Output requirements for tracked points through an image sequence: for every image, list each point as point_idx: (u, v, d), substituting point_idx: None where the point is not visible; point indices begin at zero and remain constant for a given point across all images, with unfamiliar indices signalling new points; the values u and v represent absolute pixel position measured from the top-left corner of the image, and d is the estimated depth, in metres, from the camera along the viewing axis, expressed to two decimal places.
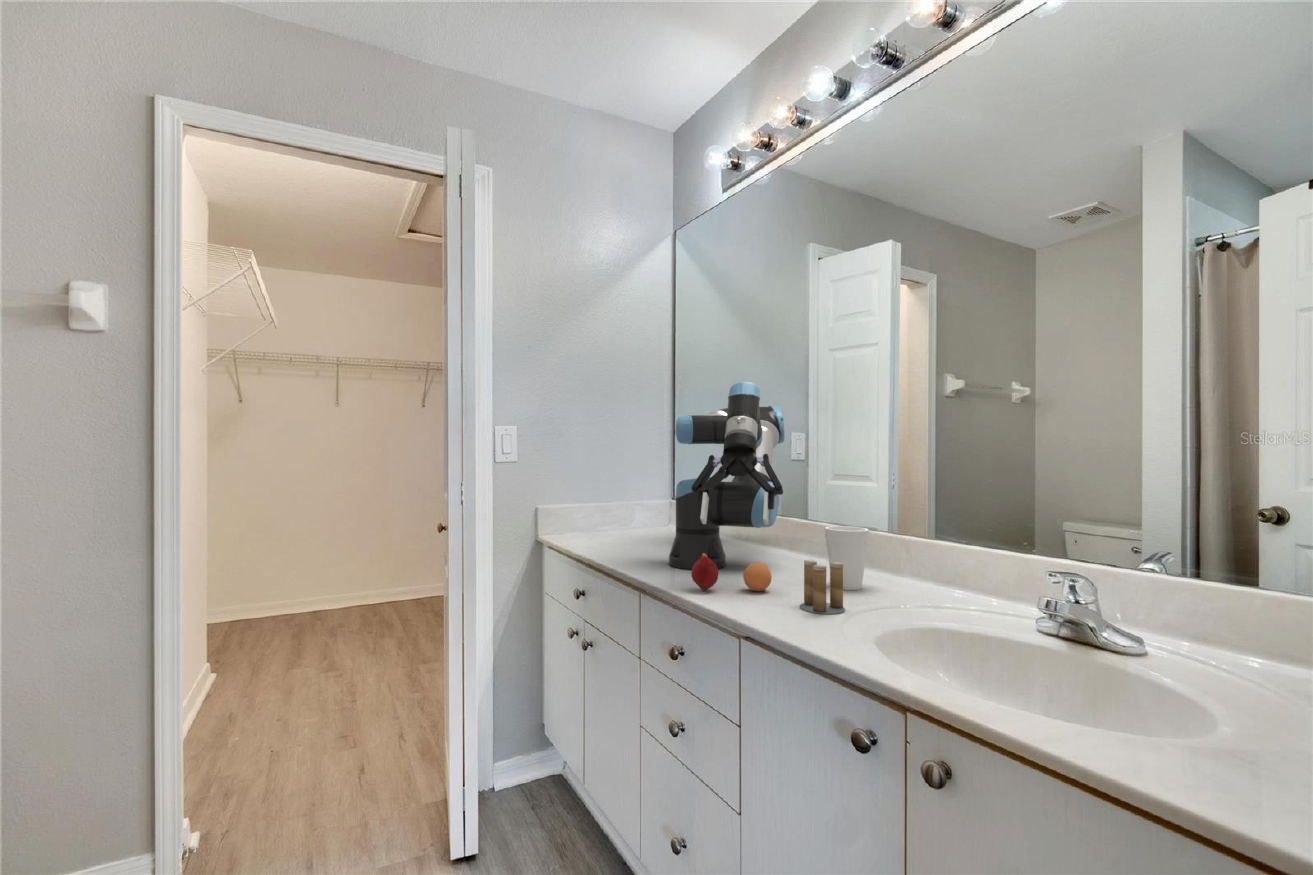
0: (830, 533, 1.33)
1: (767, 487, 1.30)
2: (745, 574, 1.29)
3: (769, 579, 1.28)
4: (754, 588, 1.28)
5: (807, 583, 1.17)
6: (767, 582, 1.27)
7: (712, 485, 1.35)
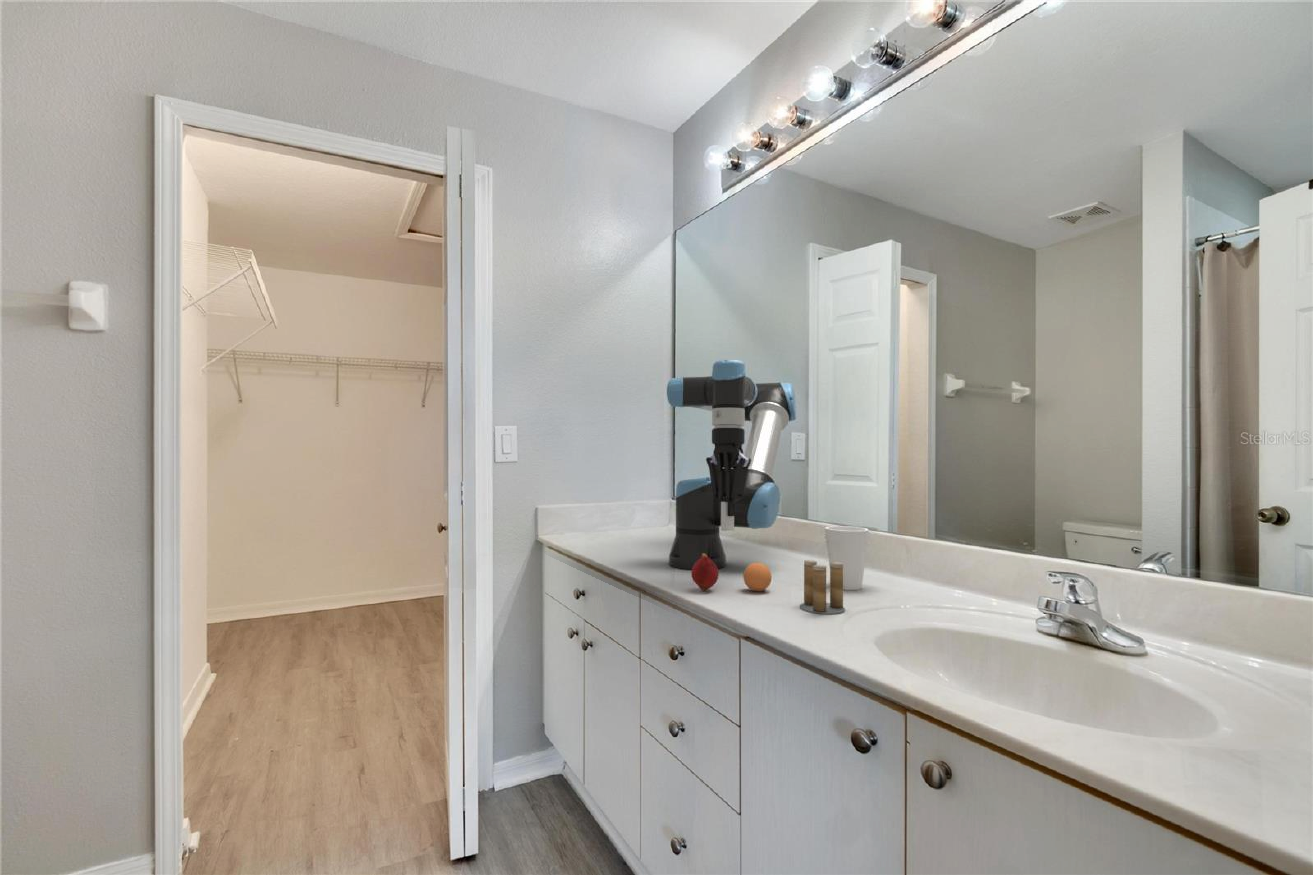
0: (830, 533, 1.33)
1: (726, 495, 1.36)
2: (745, 574, 1.29)
3: (769, 579, 1.28)
4: (754, 588, 1.28)
5: (807, 583, 1.17)
6: (767, 582, 1.27)
7: (725, 486, 1.38)
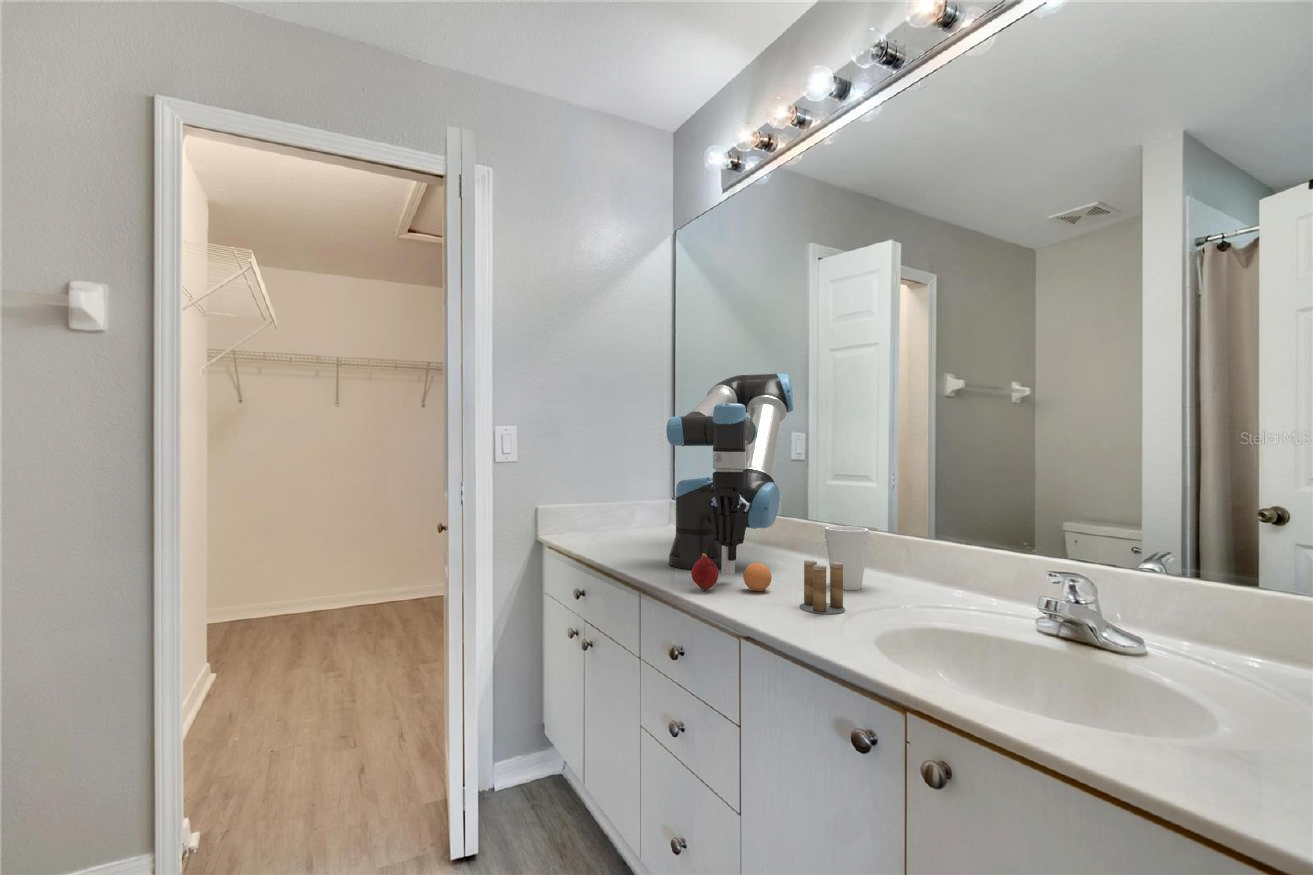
0: (830, 533, 1.33)
1: (727, 539, 1.35)
2: (745, 574, 1.29)
3: (769, 579, 1.28)
4: (754, 588, 1.28)
5: (807, 583, 1.17)
6: (767, 582, 1.27)
7: (725, 530, 1.37)
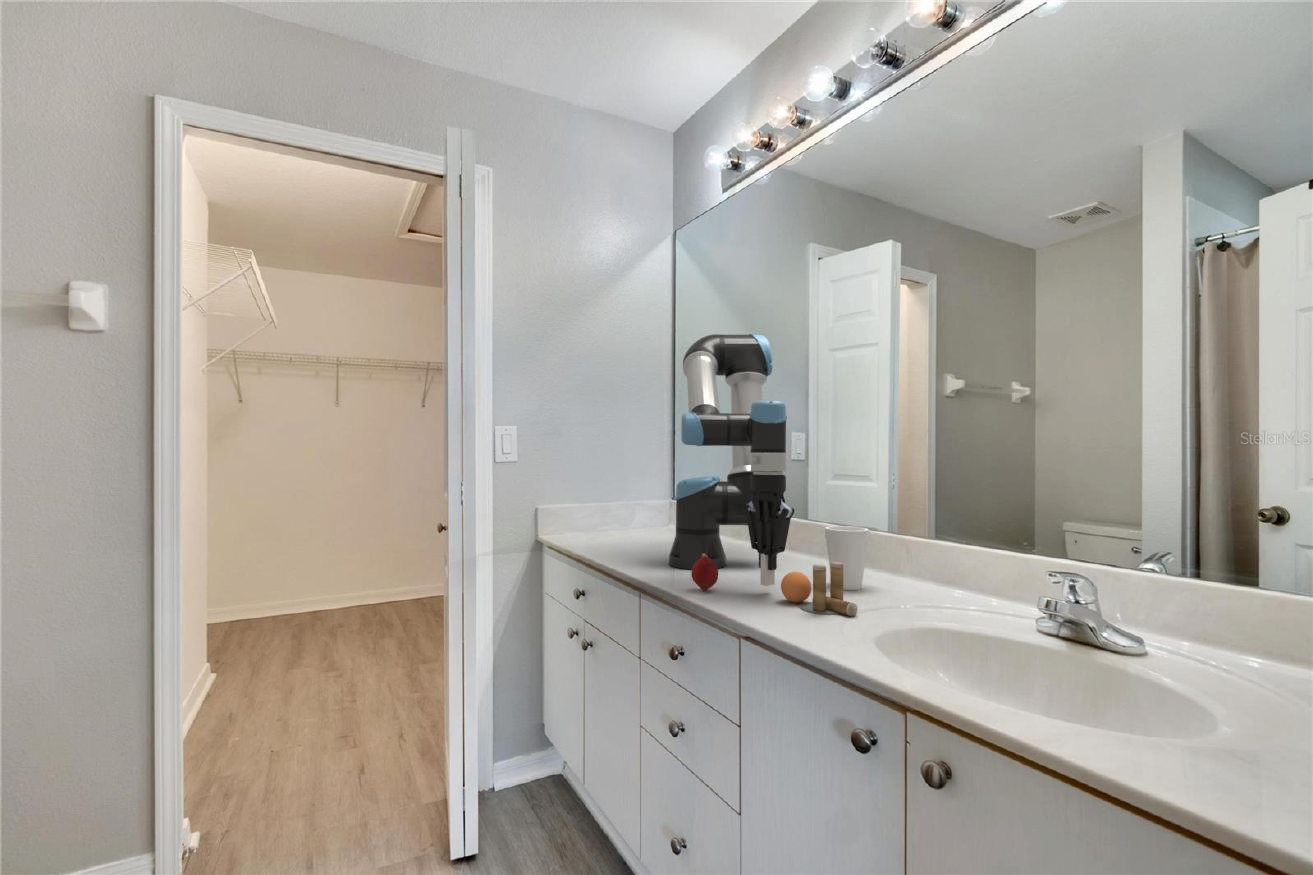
0: (830, 533, 1.33)
1: (767, 547, 1.26)
2: (788, 595, 1.18)
3: None
4: (788, 577, 1.19)
5: (830, 606, 1.12)
6: None
7: (764, 537, 1.28)
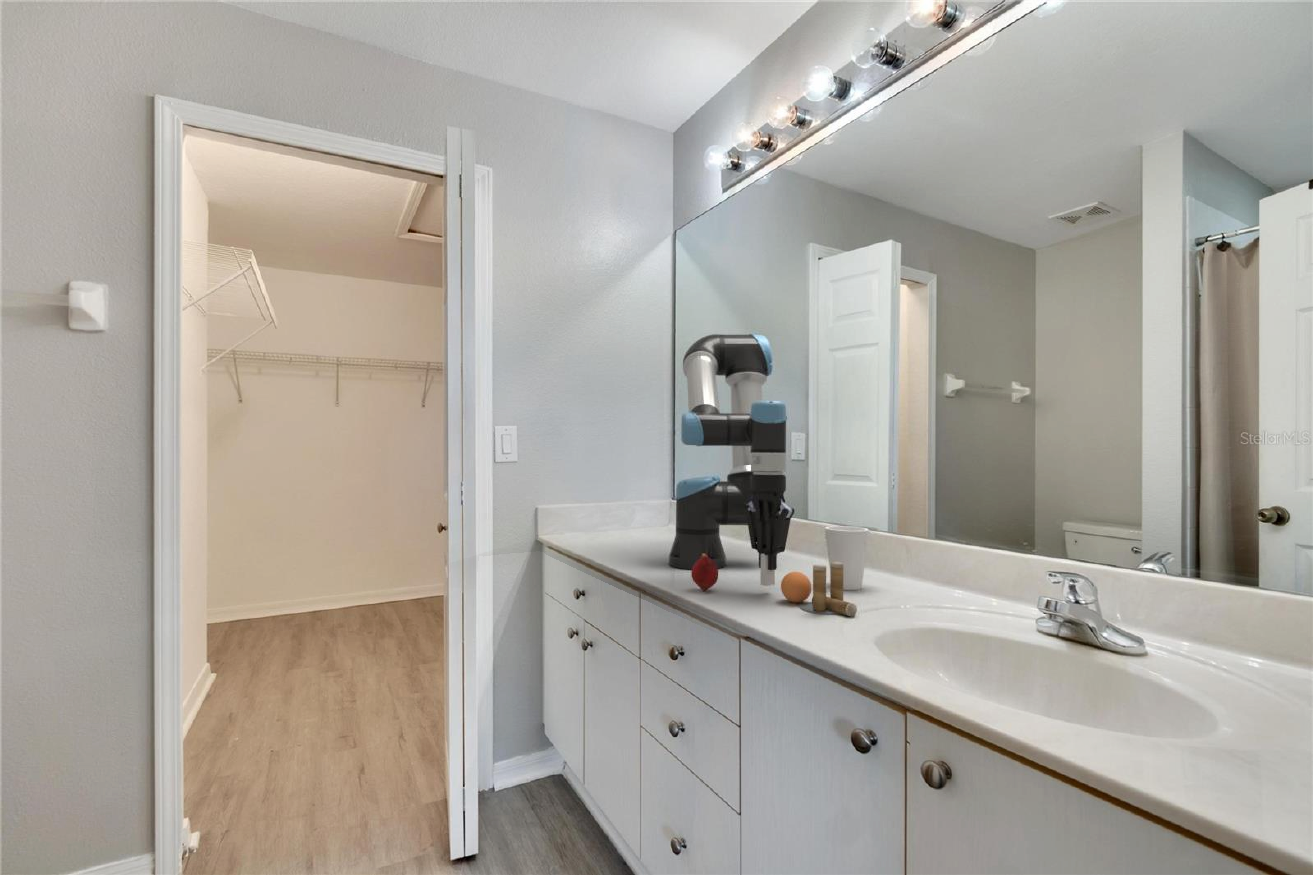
0: (830, 533, 1.33)
1: (767, 547, 1.26)
2: (788, 595, 1.18)
3: None
4: (788, 577, 1.19)
5: (829, 607, 1.12)
6: None
7: (764, 537, 1.28)
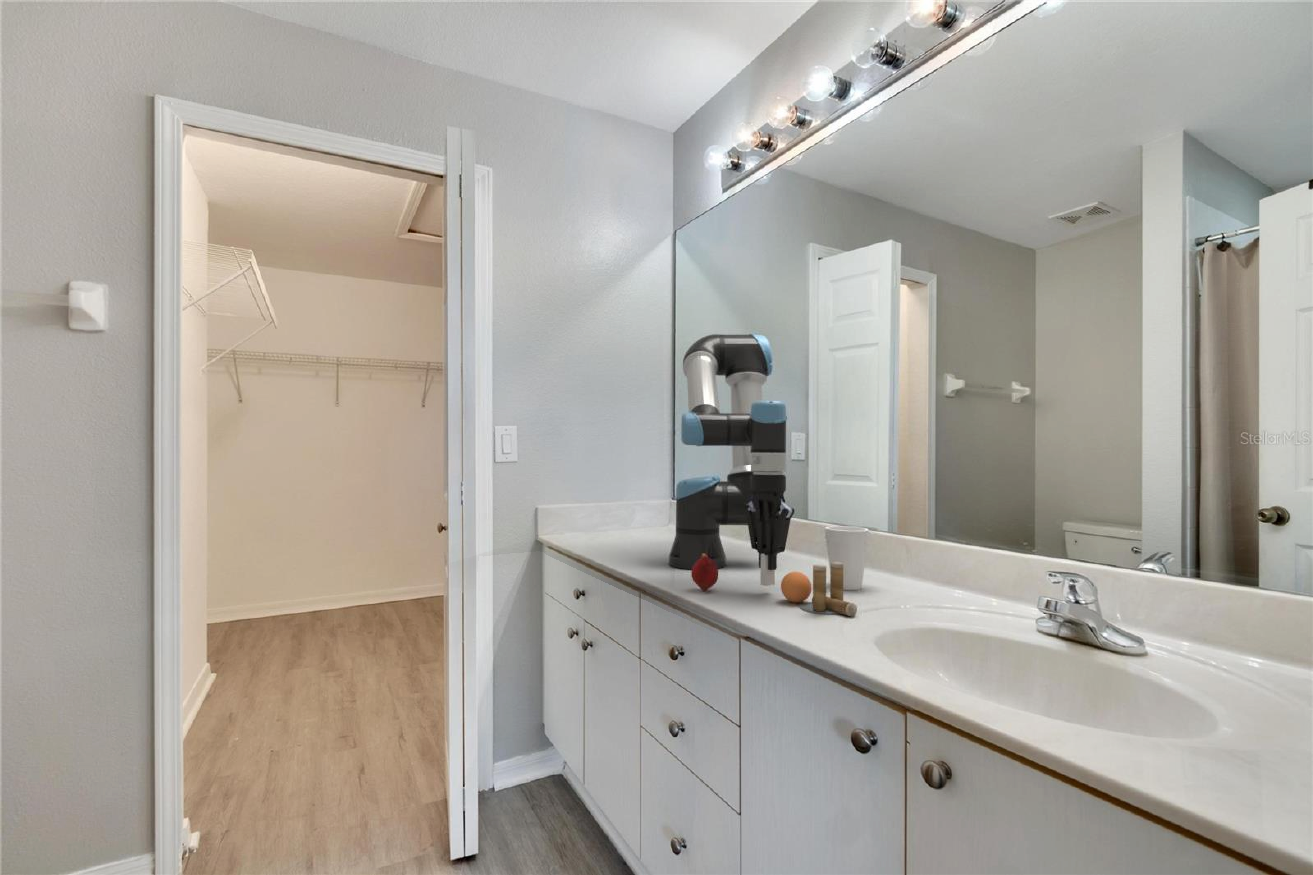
0: (830, 533, 1.33)
1: (767, 547, 1.26)
2: (788, 595, 1.18)
3: None
4: (788, 577, 1.19)
5: (830, 607, 1.12)
6: None
7: (764, 537, 1.28)
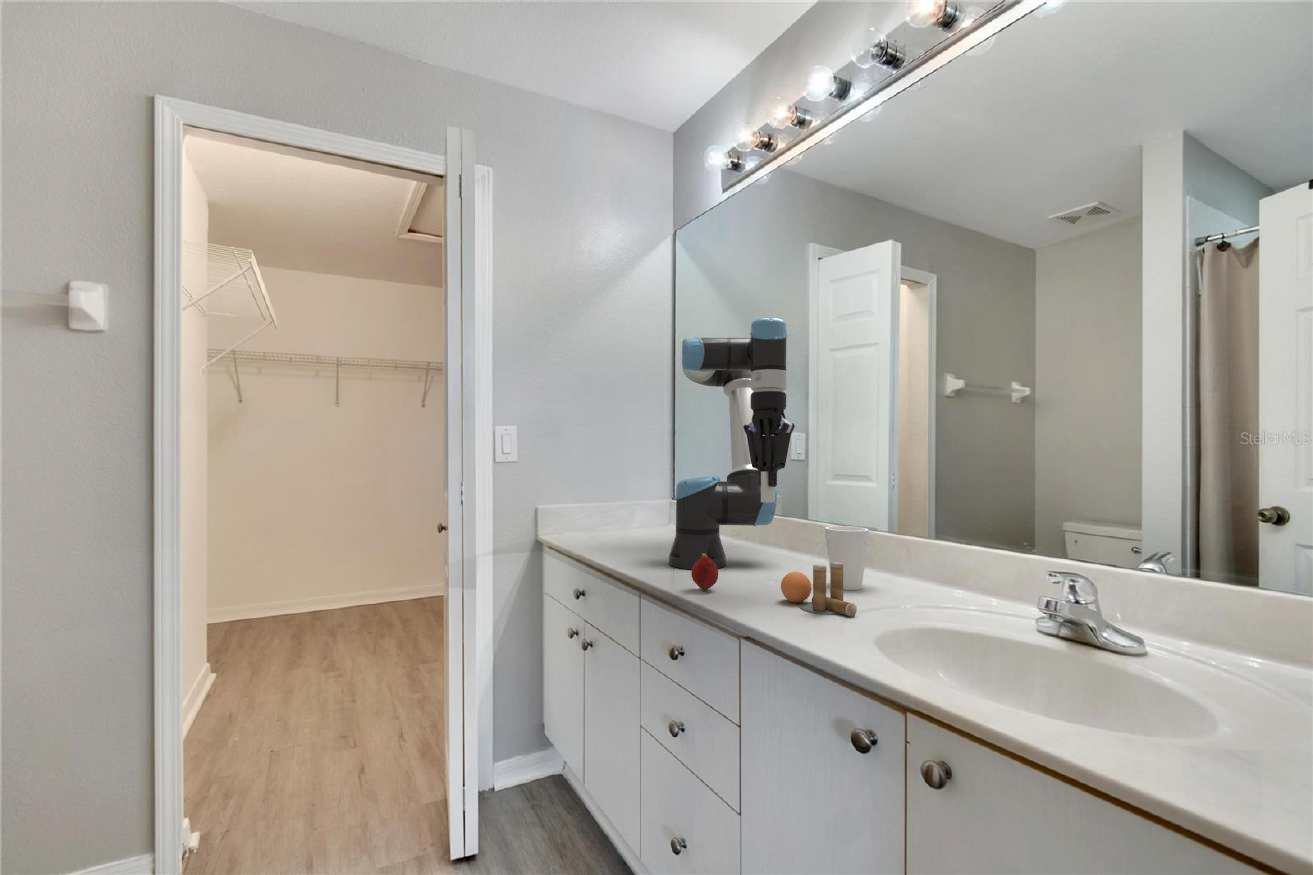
0: (830, 533, 1.33)
1: (767, 464, 1.26)
2: (788, 595, 1.18)
3: None
4: (788, 577, 1.19)
5: (829, 607, 1.12)
6: None
7: (765, 455, 1.28)
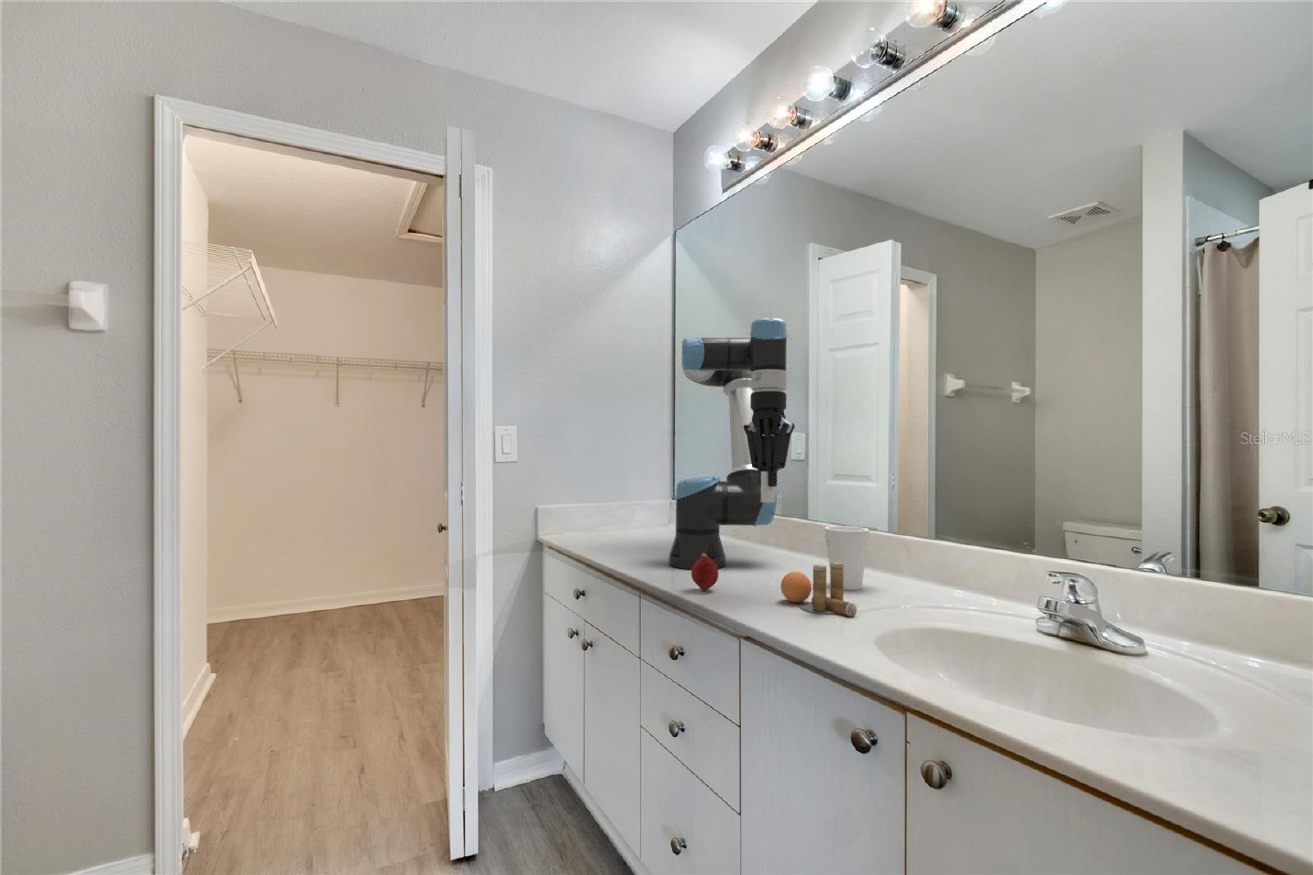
0: (830, 533, 1.33)
1: (767, 464, 1.26)
2: (788, 595, 1.18)
3: None
4: (788, 577, 1.19)
5: (829, 607, 1.12)
6: None
7: (765, 455, 1.28)
